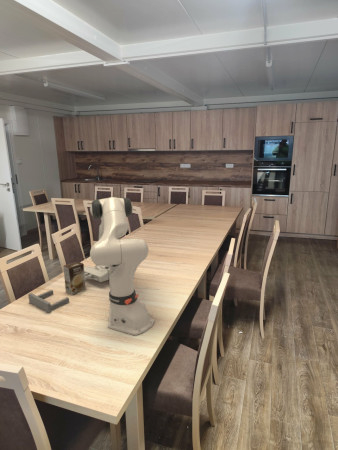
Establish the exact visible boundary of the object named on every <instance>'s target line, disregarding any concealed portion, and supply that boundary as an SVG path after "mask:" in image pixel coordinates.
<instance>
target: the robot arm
mask: <svg viewBox="0 0 338 450" xmlns="http://www.w3.org/2000/svg"><path fill="white" fill-rule="evenodd" d="M133 209H134V205H133V203H132V201H131V199H130V198H128V197H116V196H111V197H106V198H101V199H98V198H97V199H94V200H92V201H91V204H90V207H89V211H90V214H91V216H92V218H94V219H95V220H101V221H100V223H99V225H98V228H97V229H98V231H97V241H96V242H95V243H93V244H92V246H91V248H90V251H89V257H90V259H91V261H92V263H93V264H94V265H95V266H92V265H87V266H84V277H85V281H86V280H95V281H97V282H100V283H103V282H105V281H108V280H109V281H108V283H109V290H108V291H109V292H108V298H109V309H108V310H109V311H108V318H107V321H108V322H107V327H108V329H112V330H115V331H118V332H122V333H125V334H128V335H132V336H138V335H141V334H143V333H146V331H148V330H149V329H151V328H152V327H153V325H155V319H154V318H153V317H151V316H150V313H149V310H148V308H147V307H146V305H145V304H143V303H142V302H141V301H140V299H138V298H139V296H140V294H139V293H138V294H137V292H136V290H135V274H136V271H137V270H138V268H139V266H140V265H141V263H143V262H144V261H145V260H146V259H147V258H148V257H149V256H148V255H149V252H150V250H149V245H148V243H147V241H145V239H143V238H142V239H141V238H125V239H122V238H123V237H124V236H125V235H126V234H127V232H128V230H129V225H128V220H127V218H128V217H130V216H131V215H133Z"/></svg>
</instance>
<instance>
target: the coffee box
mask: <svg viewBox="0 0 338 450" xmlns="http://www.w3.org/2000/svg"><path fill="white" fill-rule="evenodd" d="M84 267H85V266H84V263H83V262H80V261H74V262H71V263H68V264H64V265H63V276H64V287H65V293H67V294H69V295H70V296H74V295H76V294H78V293H81V292H83V291H85V290H86V280H85V277H84Z"/></svg>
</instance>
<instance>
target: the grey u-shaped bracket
mask: <svg viewBox="0 0 338 450" xmlns="http://www.w3.org/2000/svg"><path fill="white" fill-rule="evenodd" d="M27 295H28V302H29V303H30V305H31V304H32V305H33V306H35V307H37V308H38V309H40V310H42V311H44V312H46V313H47V314H50V313H52V311H54V310H56V309H58V308H60V307H62V306H65V305H67V304H69V303H70V298H69V297H64V298H62V299H60V300H58V301H56V302H54V303H51V302H49V301H47V300H45V299H47V298H49V297H51V296H53V295H54V290H53V289H50V290H47V291H44V292H43V293H40V294H38V295H36V294H33V292H30V293H28V294H27Z"/></svg>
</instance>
